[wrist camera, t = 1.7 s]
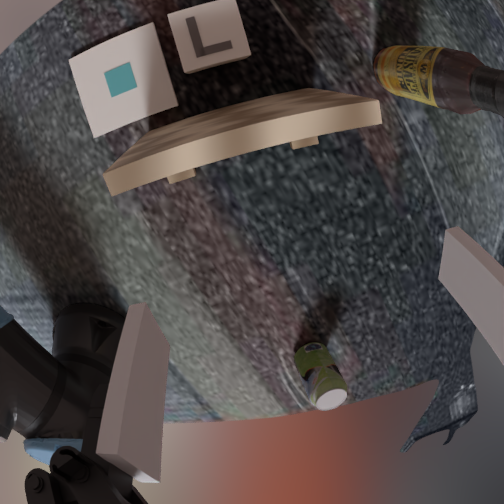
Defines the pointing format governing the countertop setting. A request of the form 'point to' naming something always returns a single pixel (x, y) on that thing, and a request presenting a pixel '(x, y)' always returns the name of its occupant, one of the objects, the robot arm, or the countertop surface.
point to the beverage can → (320, 376)
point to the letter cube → (209, 35)
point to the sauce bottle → (441, 78)
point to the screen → (238, 134)
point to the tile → (123, 80)
